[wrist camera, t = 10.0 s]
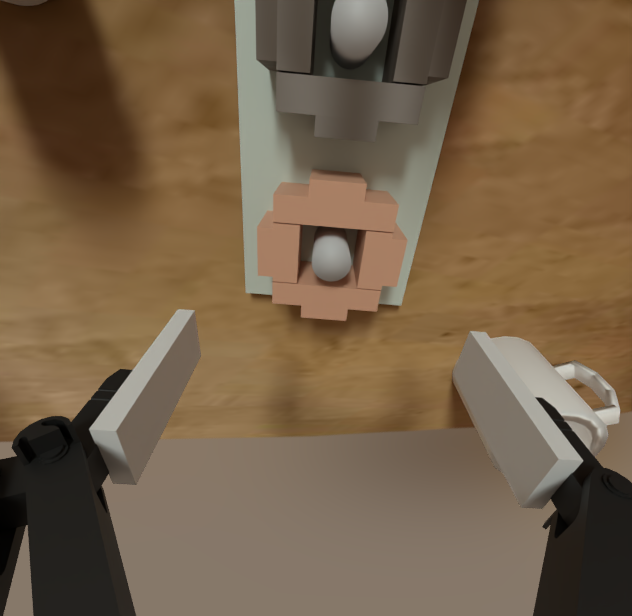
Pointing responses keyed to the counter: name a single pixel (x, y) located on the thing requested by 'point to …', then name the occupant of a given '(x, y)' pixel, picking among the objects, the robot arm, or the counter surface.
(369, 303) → the gear
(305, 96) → the gear
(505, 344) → the mug
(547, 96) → the counter surface
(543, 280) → the counter surface
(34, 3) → the coffee cup
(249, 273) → the board
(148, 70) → the counter surface
